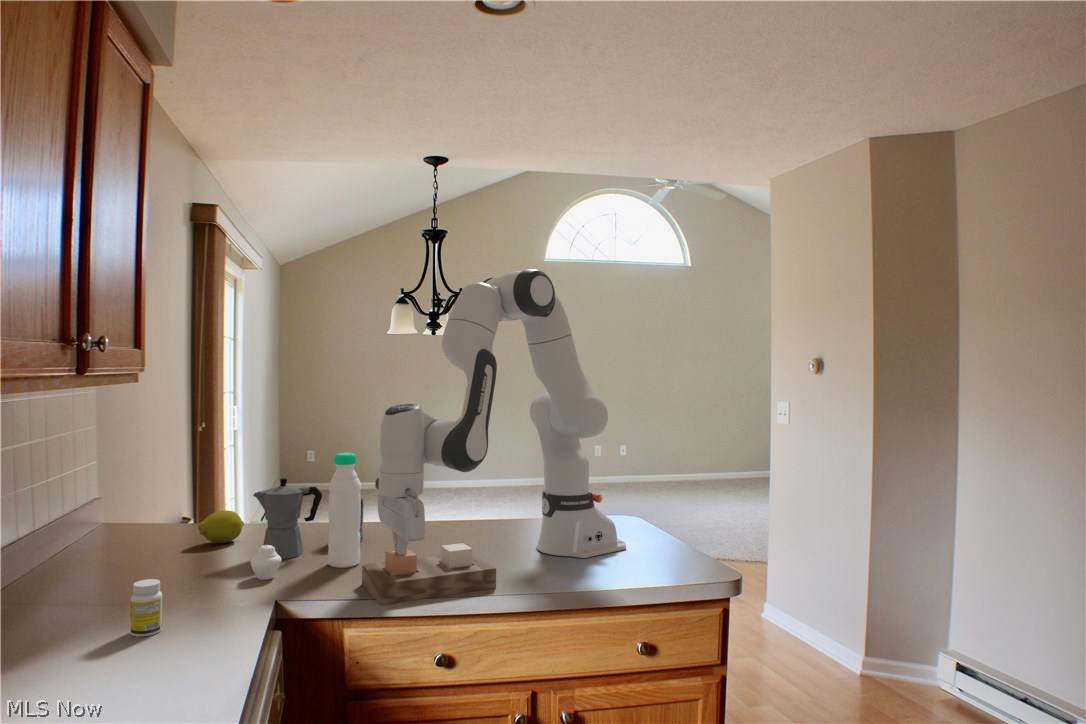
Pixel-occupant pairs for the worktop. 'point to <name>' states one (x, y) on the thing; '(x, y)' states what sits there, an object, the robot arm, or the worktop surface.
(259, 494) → the coffeepot
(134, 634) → the supplement bottle
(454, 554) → the cream key
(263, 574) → the muffin
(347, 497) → the water bottle
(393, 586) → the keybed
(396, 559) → the terracotta key
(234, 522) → the lemon
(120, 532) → the worktop surface
